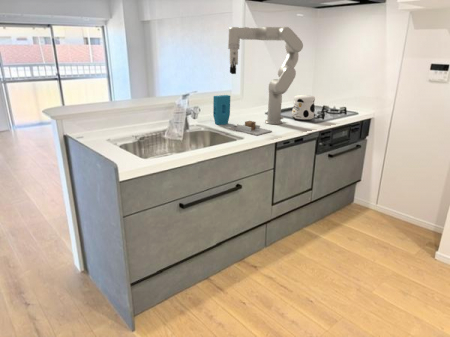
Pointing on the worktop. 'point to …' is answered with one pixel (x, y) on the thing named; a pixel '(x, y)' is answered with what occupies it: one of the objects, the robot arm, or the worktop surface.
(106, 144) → the worktop surface
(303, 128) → the worktop surface
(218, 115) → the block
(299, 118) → the milk container
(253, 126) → the walnut block
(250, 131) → the tube board
